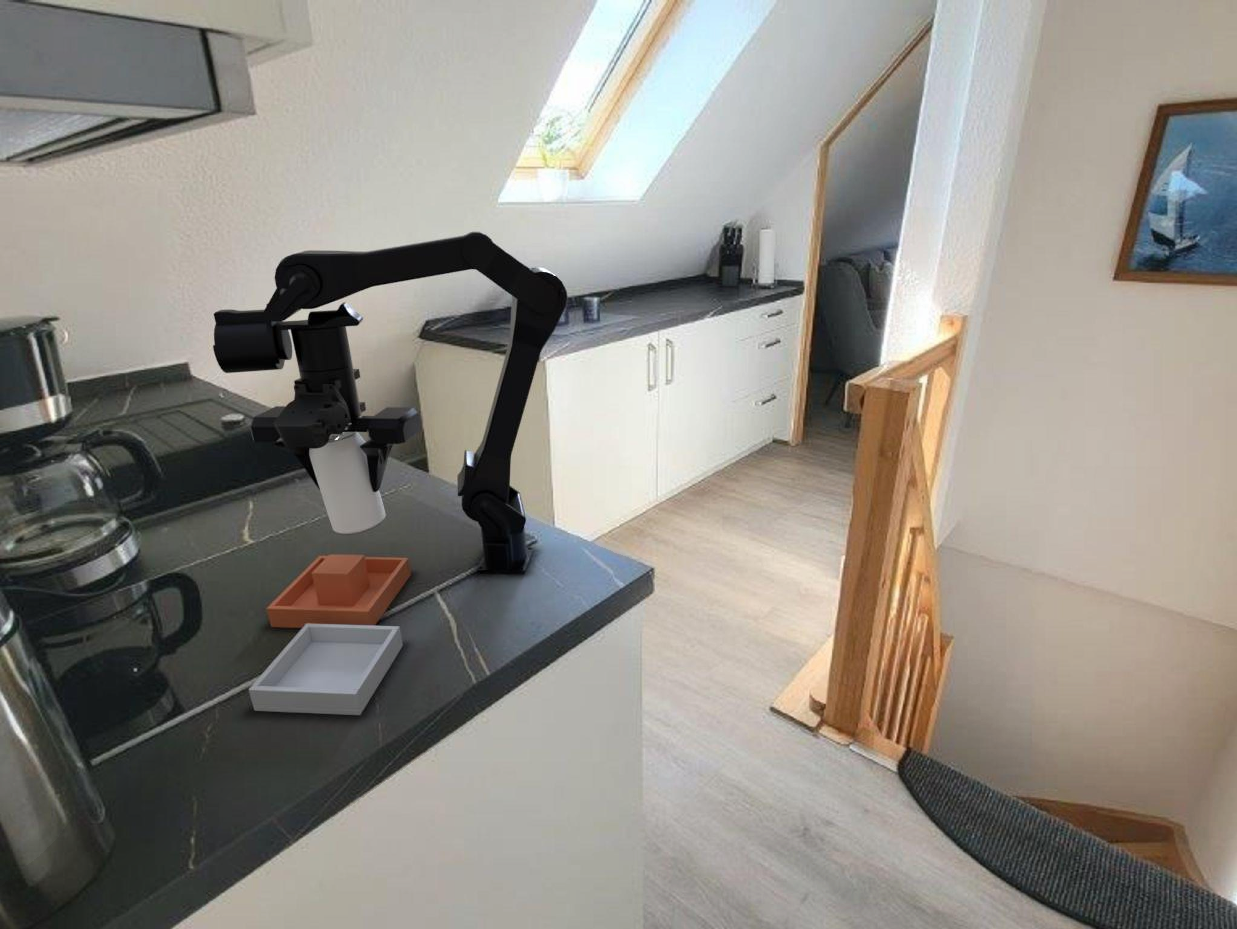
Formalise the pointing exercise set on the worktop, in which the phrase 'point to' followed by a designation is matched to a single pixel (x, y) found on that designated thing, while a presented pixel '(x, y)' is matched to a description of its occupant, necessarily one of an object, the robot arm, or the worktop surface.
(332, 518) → the can
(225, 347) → the robot arm
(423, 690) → the worktop surface
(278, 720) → the worktop surface
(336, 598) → the block
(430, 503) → the worktop surface
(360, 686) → the steel tray
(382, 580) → the terracotta tray
